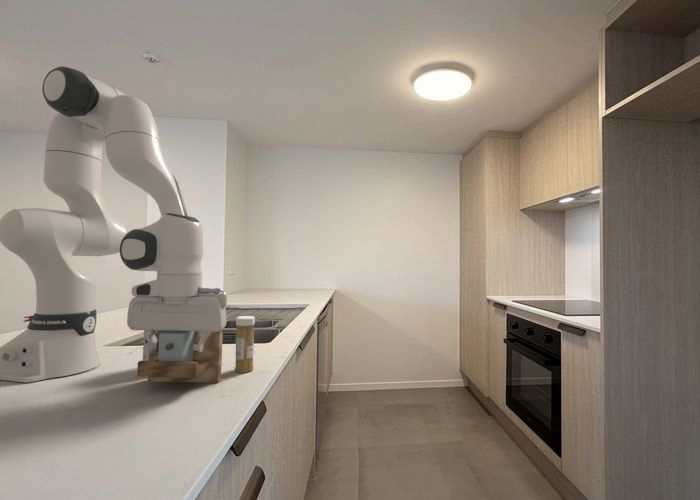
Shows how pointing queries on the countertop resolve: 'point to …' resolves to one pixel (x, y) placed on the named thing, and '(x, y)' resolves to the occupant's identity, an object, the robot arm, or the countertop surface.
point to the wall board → (187, 363)
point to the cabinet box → (176, 346)
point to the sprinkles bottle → (244, 343)
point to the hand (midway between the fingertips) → (176, 351)
